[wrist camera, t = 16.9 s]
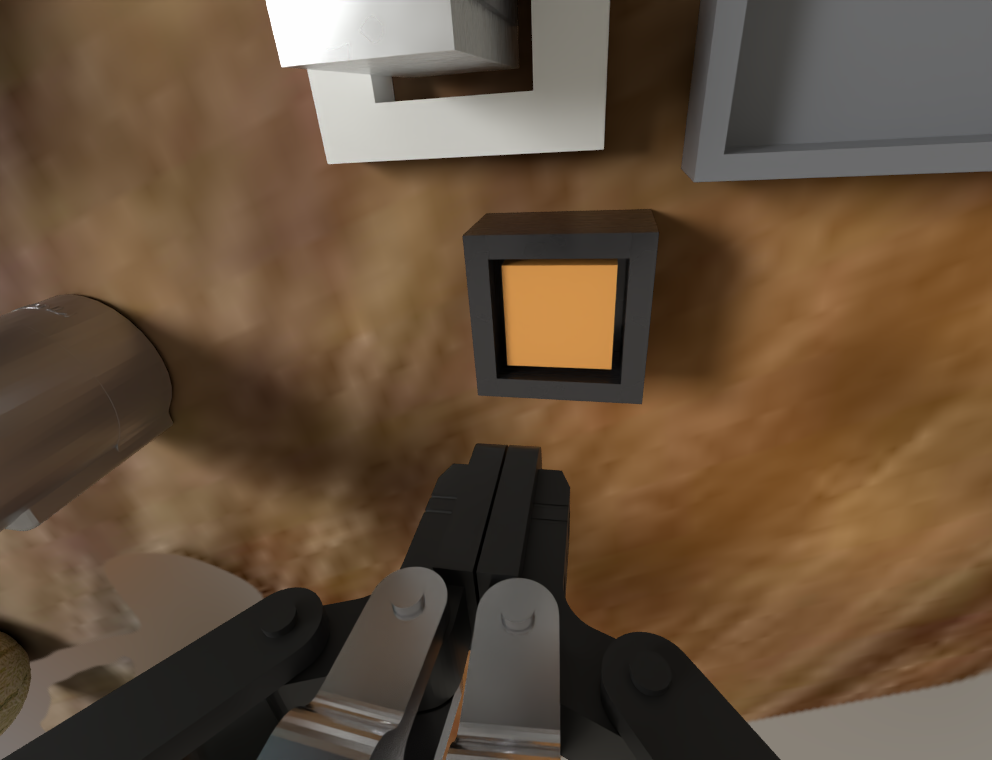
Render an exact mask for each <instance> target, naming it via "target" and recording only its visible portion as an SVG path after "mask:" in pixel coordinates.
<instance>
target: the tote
mask: <svg viewBox="0 0 992 760" xmlns="http://www.w3.org/2000/svg"><path fill="white" fill-rule="evenodd" d="M681 169H682V170H683V171H684V172H685V173H686V174H687V175H688V176H689V177H690V179H691V180H692V181H693V182H712V181H739V180H766V179H793V178H820V177H847V176H873V175H900V174H927V173H954V172H981V171H992V0H701V1H700V10H699V18H698V27H697V36H696V44H695V53H694V62H693V70H692V79H691V88H690V97H689V105H688V114H687V123H686V131H685V140H684V149H683V157H682V166H681Z"/></svg>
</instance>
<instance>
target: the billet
mask: <svg viewBox="0 0 992 760" xmlns="http://www.w3.org/2000/svg"><path fill="white" fill-rule="evenodd" d="M266 3H267V7H268V12H269V16H270V20H271V24H272V28H273V32H274V37H275V41H276V45H277V49H278V53H279V58H280V62H281V66H282V67H287V68H298V69H310V70H322V71H334V72H346V73H358V74H369V75H381V76H393V77H405V78H417V77H428V76H439V75H451V74H462V73H473V72H484V71H496V70H507V69H518V68H519V46H518V26H519V14H518V0H266Z"/></svg>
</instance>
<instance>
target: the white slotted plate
mask: <svg viewBox="0 0 992 760" xmlns="http://www.w3.org/2000/svg"><path fill="white" fill-rule="evenodd" d="M531 13H532V56H533V91H522V92H509V93H497V94H484V95H472V96H459V97H446V98H434V99H421V100H409V101H396V102H395V97H394V90H393V83H392V76H381V75H369V74H358V73H346V72H334V71H322V70H310V69H307V71H308V75H309V80H310V85H311V89H312V94H313V98H314V103H315V107H316V112H317V117H318V121H319V126H320V130H321V135H322V140H323V144H324V149H325V153H326V158H327V163H328V164H337V163H356V162H375V161H394V160H413V159H432V158H452V157H471V156H490V155H509V154H528V153H547V152H566V151H585V150H604V140H605V115H606V91H607V67H608V43H609V19H610V0H531Z"/></svg>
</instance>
